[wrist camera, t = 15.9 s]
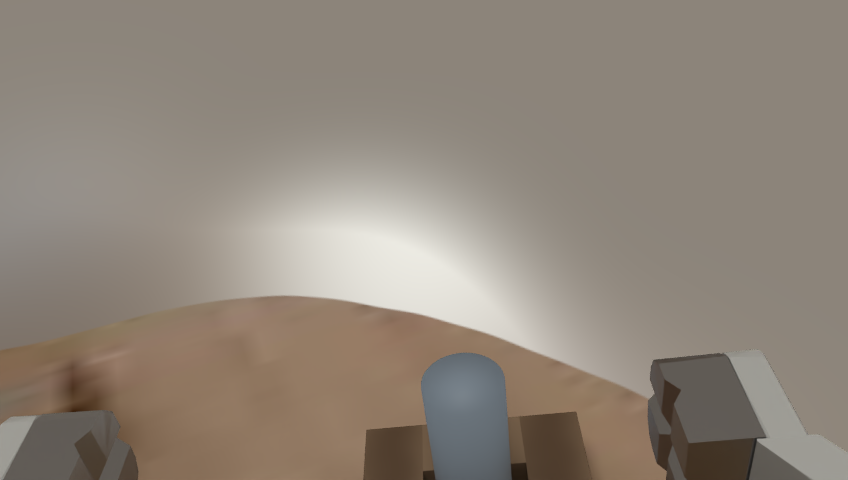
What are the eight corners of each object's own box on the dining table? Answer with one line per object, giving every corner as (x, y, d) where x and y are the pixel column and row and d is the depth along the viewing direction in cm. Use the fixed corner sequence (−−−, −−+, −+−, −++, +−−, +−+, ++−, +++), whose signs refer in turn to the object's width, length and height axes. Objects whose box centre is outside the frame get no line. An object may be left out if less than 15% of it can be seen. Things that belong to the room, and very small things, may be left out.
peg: (433, 557, 45) (403, 387, 37) (478, 511, 47) (459, 341, 39) (485, 600, 43) (466, 427, 35) (531, 550, 45) (522, 376, 37)
